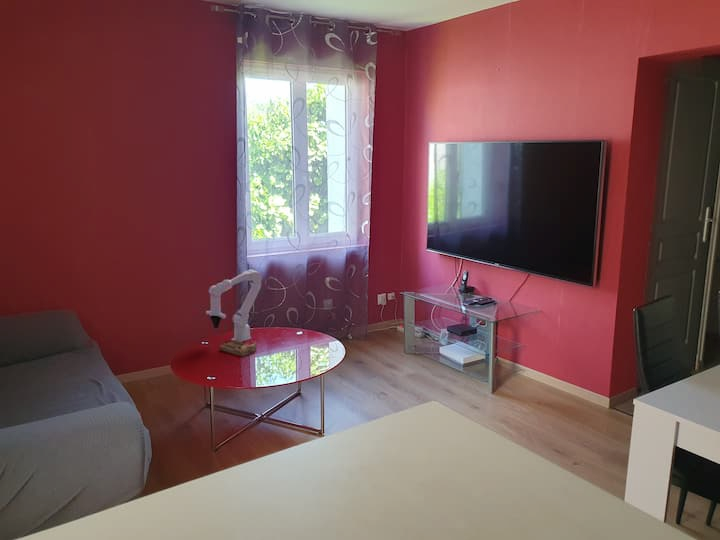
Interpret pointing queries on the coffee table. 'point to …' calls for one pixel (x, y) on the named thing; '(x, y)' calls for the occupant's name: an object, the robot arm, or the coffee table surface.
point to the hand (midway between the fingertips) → (216, 327)
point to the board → (238, 348)
